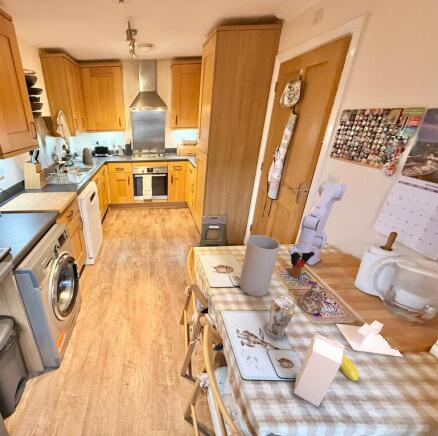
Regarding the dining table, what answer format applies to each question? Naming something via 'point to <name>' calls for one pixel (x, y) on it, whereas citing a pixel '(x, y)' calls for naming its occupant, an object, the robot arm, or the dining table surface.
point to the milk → (318, 369)
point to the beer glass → (280, 316)
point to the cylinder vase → (258, 264)
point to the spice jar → (295, 272)
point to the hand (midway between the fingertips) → (298, 264)
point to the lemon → (349, 368)
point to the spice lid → (300, 263)
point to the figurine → (312, 299)
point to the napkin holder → (367, 338)
